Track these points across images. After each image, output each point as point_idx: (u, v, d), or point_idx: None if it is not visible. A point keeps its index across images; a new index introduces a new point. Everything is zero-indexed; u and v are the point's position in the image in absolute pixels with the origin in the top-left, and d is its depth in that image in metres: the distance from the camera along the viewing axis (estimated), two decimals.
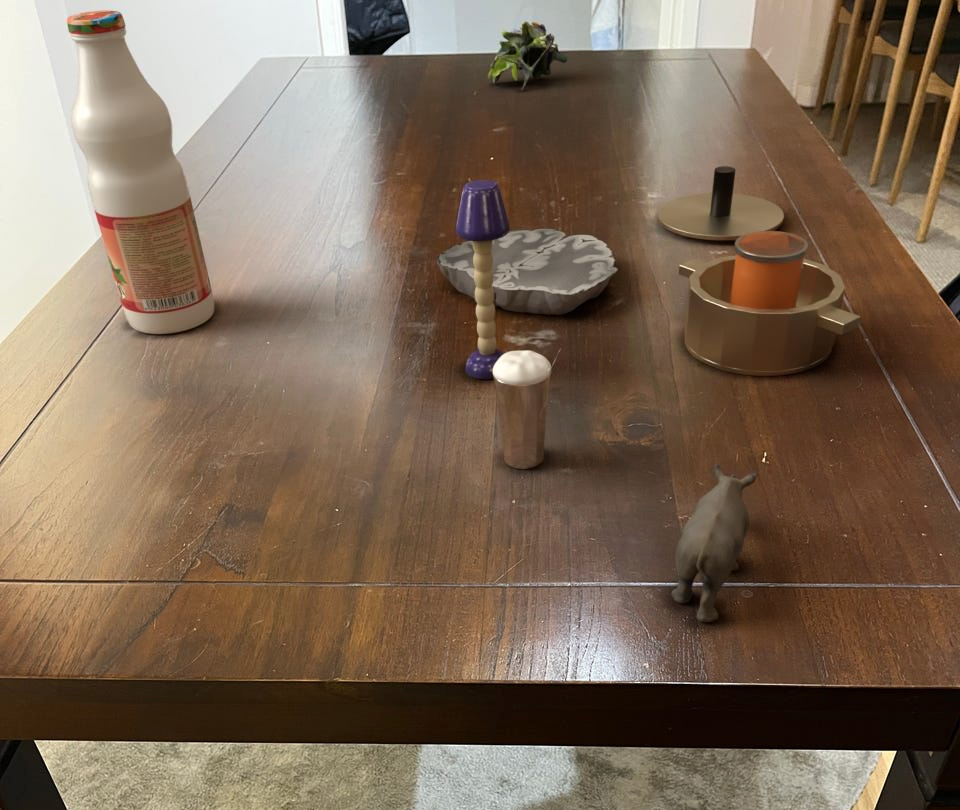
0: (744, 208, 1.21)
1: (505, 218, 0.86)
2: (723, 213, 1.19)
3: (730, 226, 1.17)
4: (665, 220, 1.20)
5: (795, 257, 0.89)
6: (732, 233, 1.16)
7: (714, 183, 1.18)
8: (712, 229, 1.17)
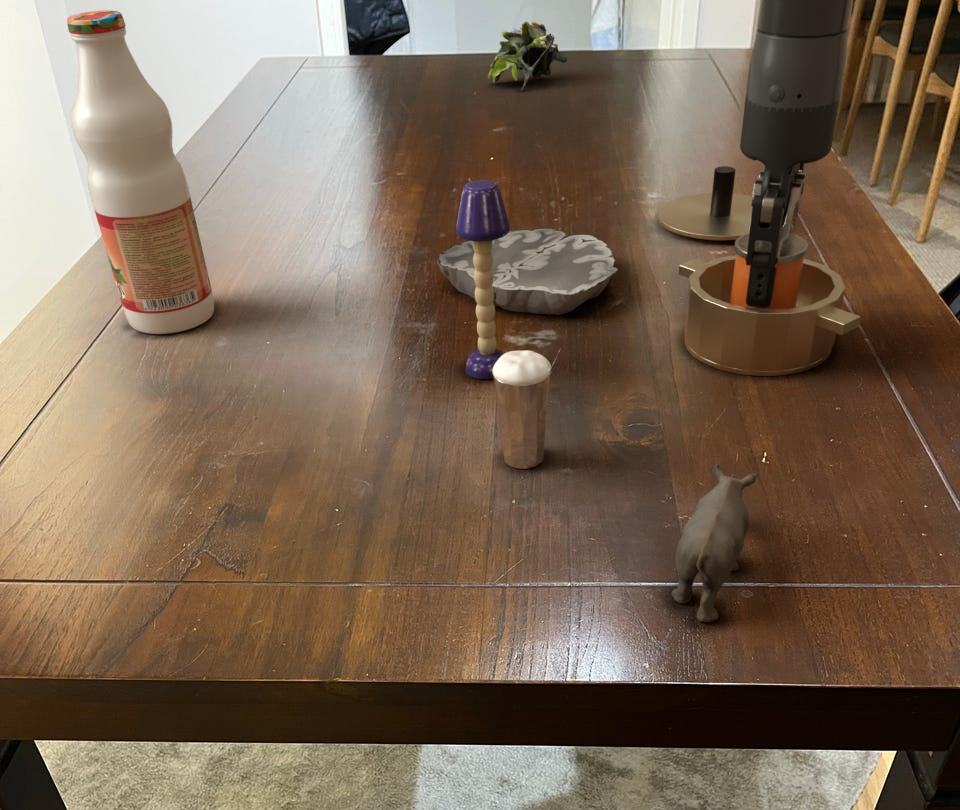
0: (744, 208, 1.21)
1: (505, 218, 0.86)
2: (723, 213, 1.19)
3: (730, 226, 1.17)
4: (665, 220, 1.20)
5: (795, 257, 0.89)
6: (732, 233, 1.16)
7: (714, 183, 1.18)
8: (712, 229, 1.17)
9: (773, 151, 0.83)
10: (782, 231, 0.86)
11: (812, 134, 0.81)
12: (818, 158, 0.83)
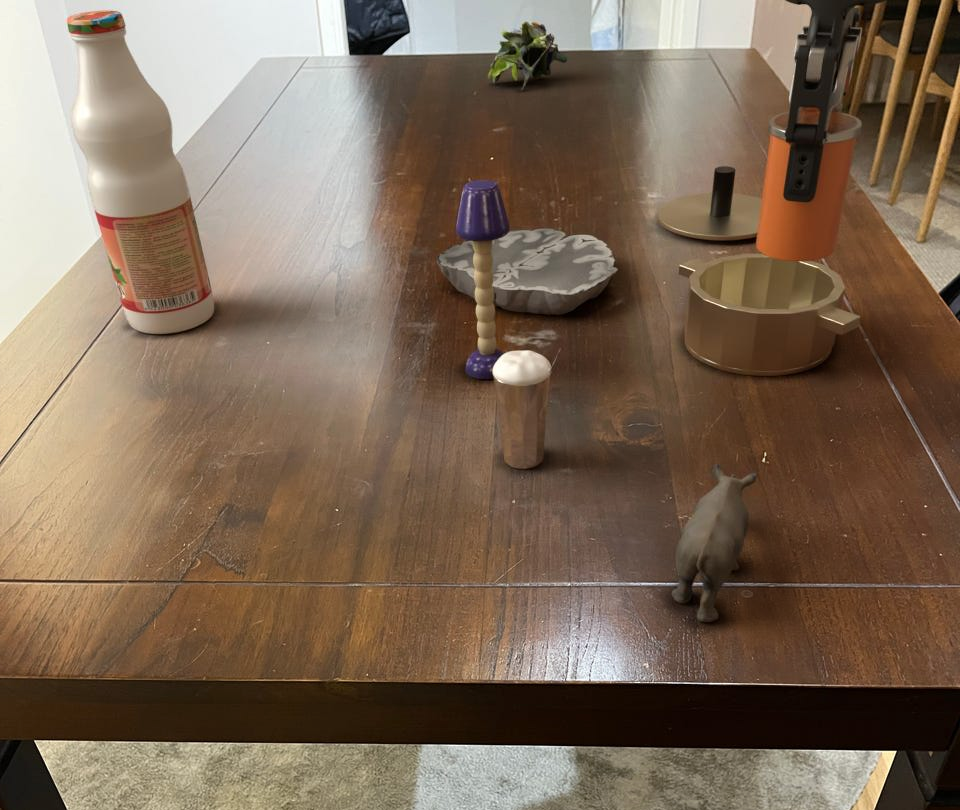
0: (744, 208, 1.21)
1: (505, 218, 0.86)
2: (723, 213, 1.19)
3: (730, 226, 1.17)
4: (665, 220, 1.20)
5: (846, 136, 0.71)
6: (732, 233, 1.16)
7: (714, 183, 1.18)
8: (712, 229, 1.17)
9: None
10: (832, 98, 0.68)
11: None
12: None
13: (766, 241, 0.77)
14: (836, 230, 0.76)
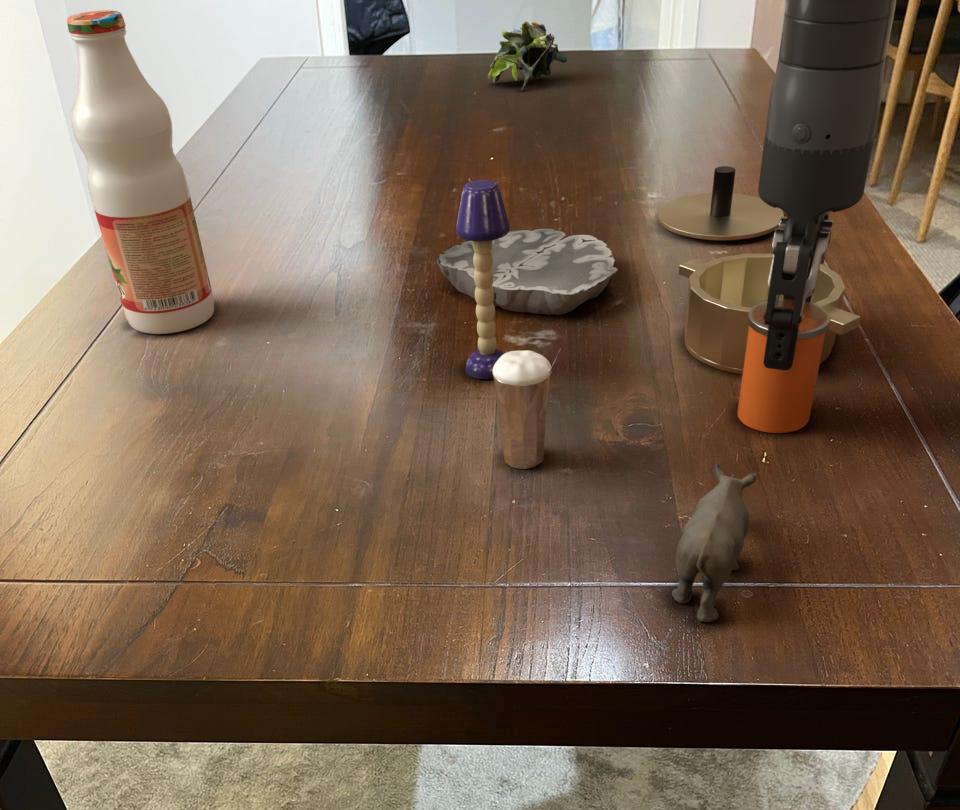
0: (744, 208, 1.21)
1: (505, 218, 0.86)
2: (723, 213, 1.19)
3: (730, 226, 1.17)
4: (665, 220, 1.20)
5: (816, 332, 0.79)
6: (732, 233, 1.16)
7: (714, 183, 1.18)
8: (712, 229, 1.17)
9: (797, 199, 0.72)
10: (807, 284, 0.75)
11: (842, 180, 0.70)
12: (849, 206, 0.72)
13: (746, 413, 0.85)
14: (809, 405, 0.84)
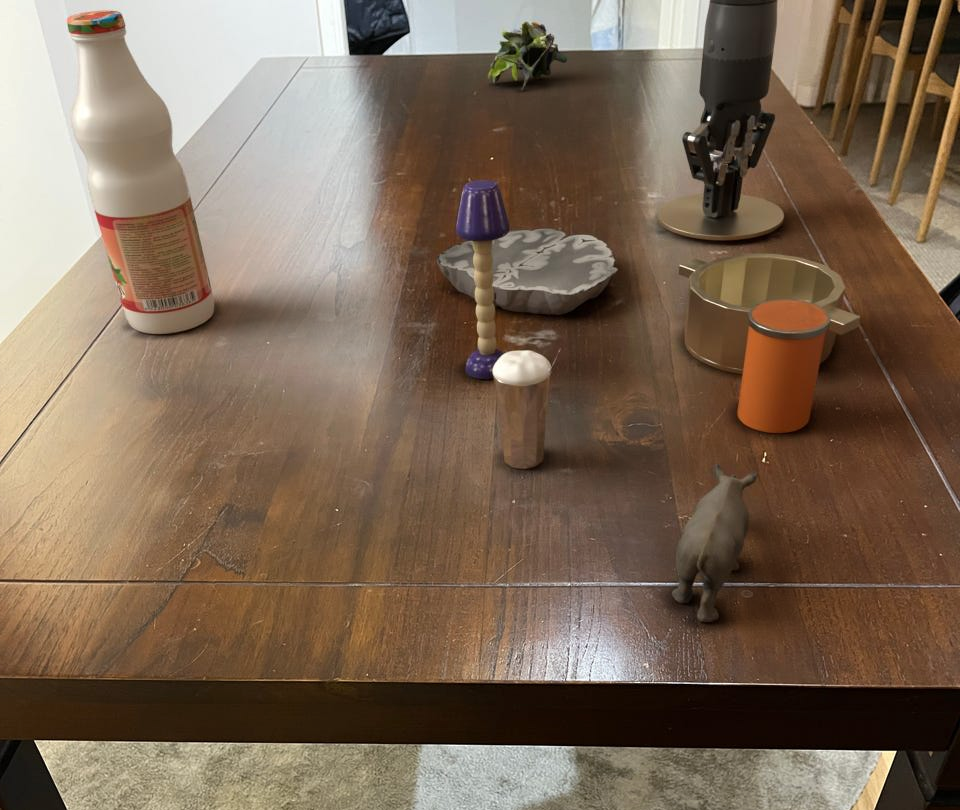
0: (744, 208, 1.21)
1: (505, 218, 0.86)
2: (723, 213, 1.19)
3: (730, 226, 1.17)
4: (665, 220, 1.20)
5: (816, 332, 0.79)
6: (732, 233, 1.16)
7: None
8: (712, 229, 1.17)
9: (708, 91, 1.10)
10: (721, 158, 1.14)
11: (733, 81, 1.08)
12: (742, 101, 1.09)
13: (746, 413, 0.85)
14: (809, 405, 0.84)
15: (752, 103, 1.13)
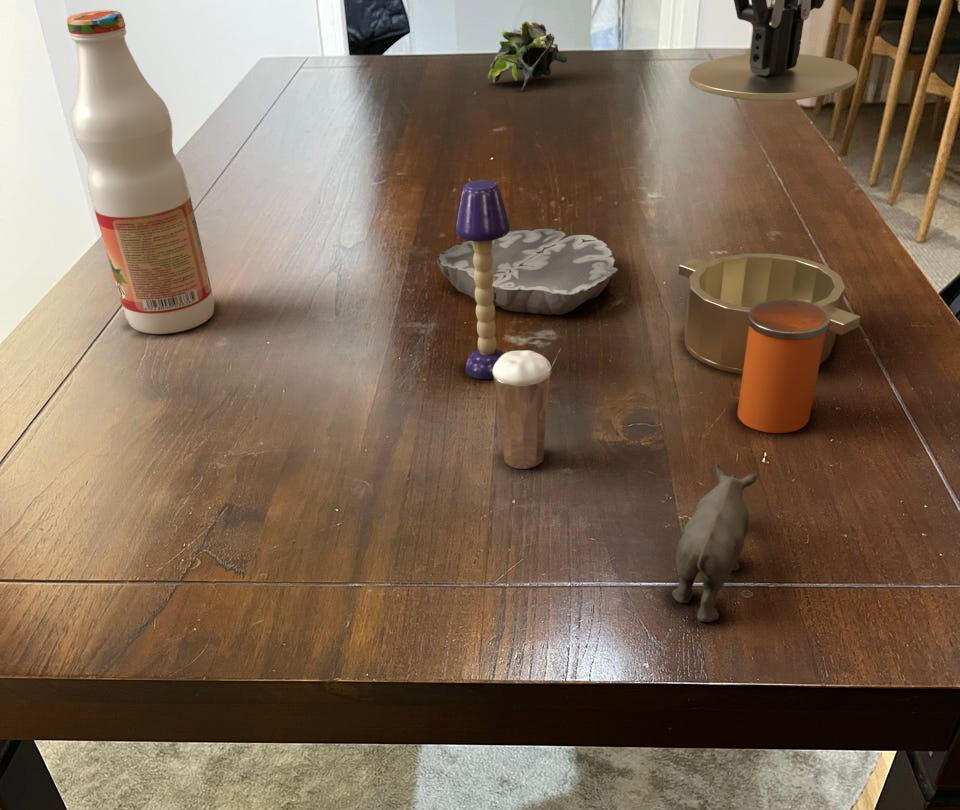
0: (804, 66, 0.92)
1: (505, 218, 0.86)
2: (777, 70, 0.90)
3: (787, 84, 0.88)
4: (699, 80, 0.90)
5: (816, 332, 0.79)
6: (790, 90, 0.86)
7: None
8: (763, 87, 0.87)
9: None
10: None
11: None
12: None
13: (746, 413, 0.85)
14: (809, 405, 0.84)
15: None
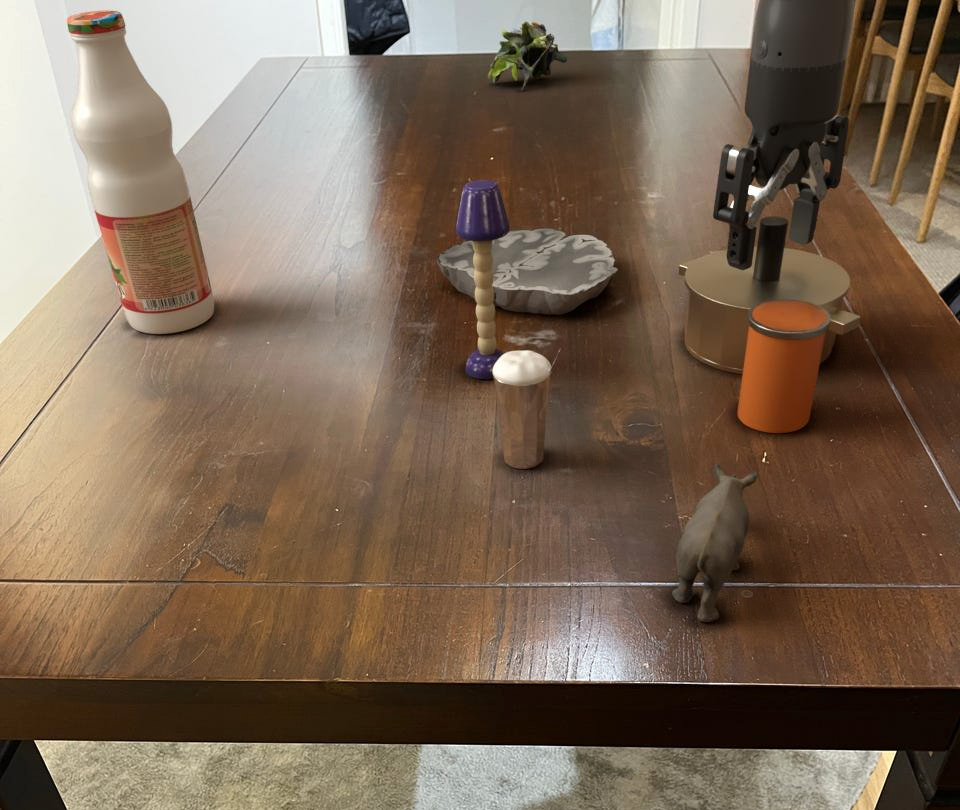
0: (797, 269, 0.94)
1: (505, 218, 0.86)
2: (771, 277, 0.92)
3: (781, 295, 0.89)
4: (695, 286, 0.92)
5: (816, 332, 0.79)
6: None
7: (760, 238, 0.90)
8: (758, 300, 0.89)
9: (757, 110, 0.82)
10: (763, 191, 0.85)
11: (793, 97, 0.80)
12: (804, 123, 0.81)
13: (746, 413, 0.85)
14: (809, 405, 0.84)
15: (815, 125, 0.85)
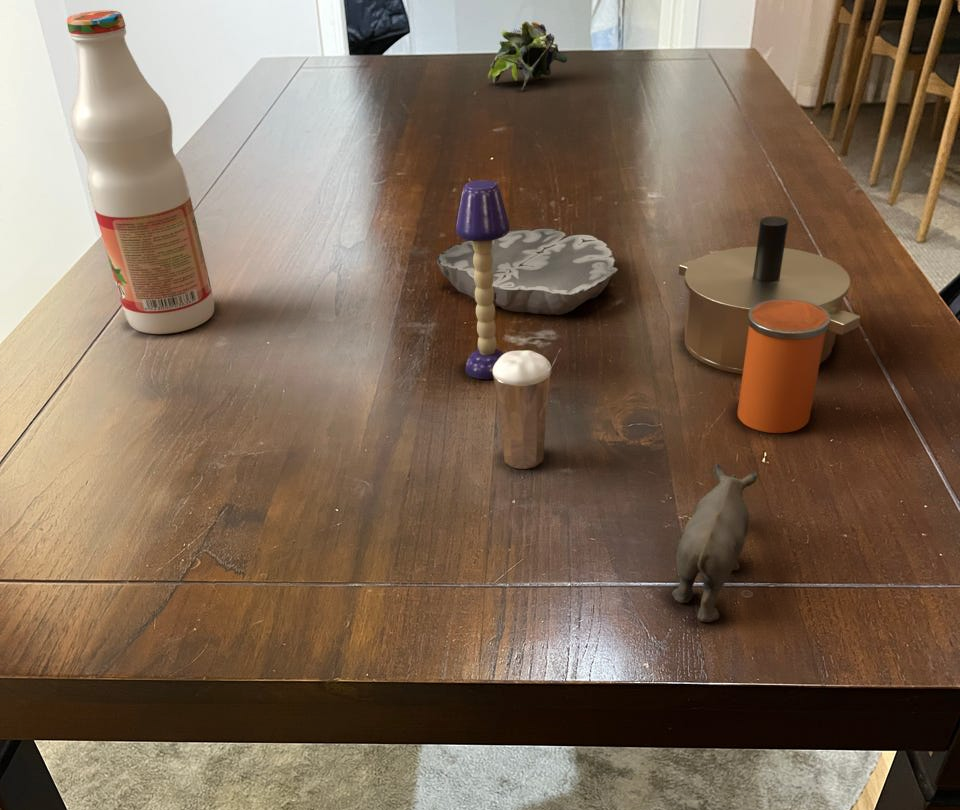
0: (797, 269, 0.94)
1: (505, 218, 0.86)
2: (771, 277, 0.92)
3: (781, 295, 0.89)
4: (695, 286, 0.92)
5: (816, 332, 0.79)
6: None
7: (760, 238, 0.90)
8: (758, 300, 0.89)
9: None
10: None
11: None
12: None
13: (746, 413, 0.85)
14: (809, 405, 0.84)
15: None
